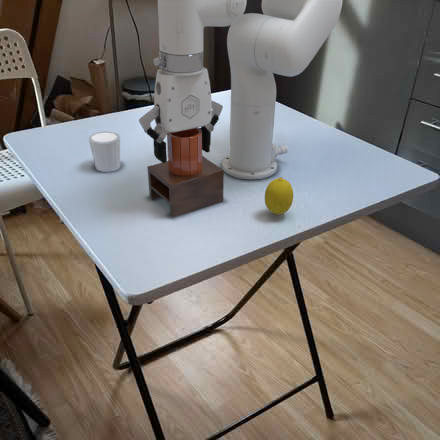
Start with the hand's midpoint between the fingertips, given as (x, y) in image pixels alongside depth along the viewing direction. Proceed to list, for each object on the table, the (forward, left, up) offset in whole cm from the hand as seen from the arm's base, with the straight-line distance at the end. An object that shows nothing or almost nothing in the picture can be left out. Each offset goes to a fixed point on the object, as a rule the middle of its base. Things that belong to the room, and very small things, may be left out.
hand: (183, 155), depth 101 cm
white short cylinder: (+6, -23, -10) cm, 26 cm away
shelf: (-1, 0, -10) cm, 10 cm away
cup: (-1, 0, -3) cm, 3 cm away
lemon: (-13, +15, -10) cm, 22 cm away
